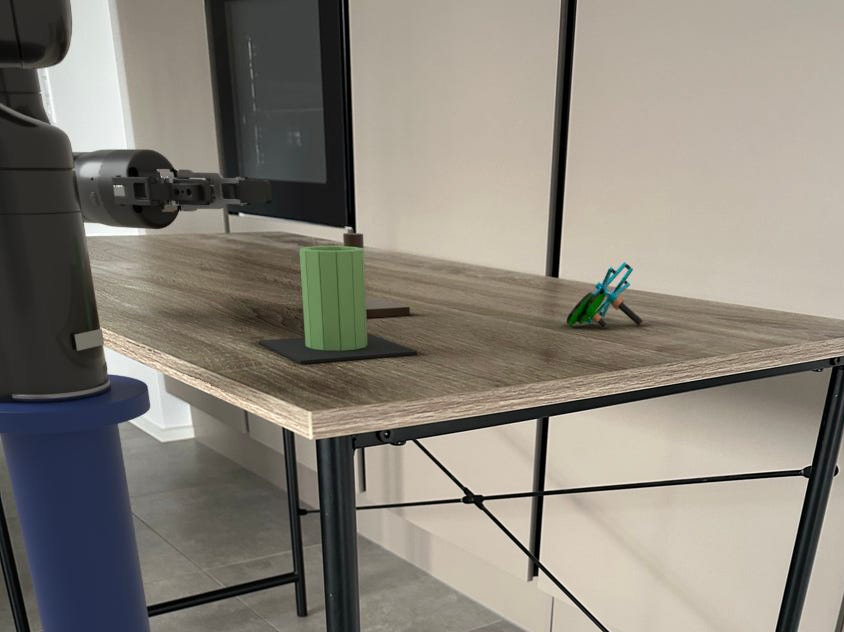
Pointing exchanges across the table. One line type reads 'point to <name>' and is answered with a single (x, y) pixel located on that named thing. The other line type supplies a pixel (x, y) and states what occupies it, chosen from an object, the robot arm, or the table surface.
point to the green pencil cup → (334, 297)
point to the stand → (374, 304)
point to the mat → (304, 355)
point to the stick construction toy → (594, 300)
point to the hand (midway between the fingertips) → (239, 192)
